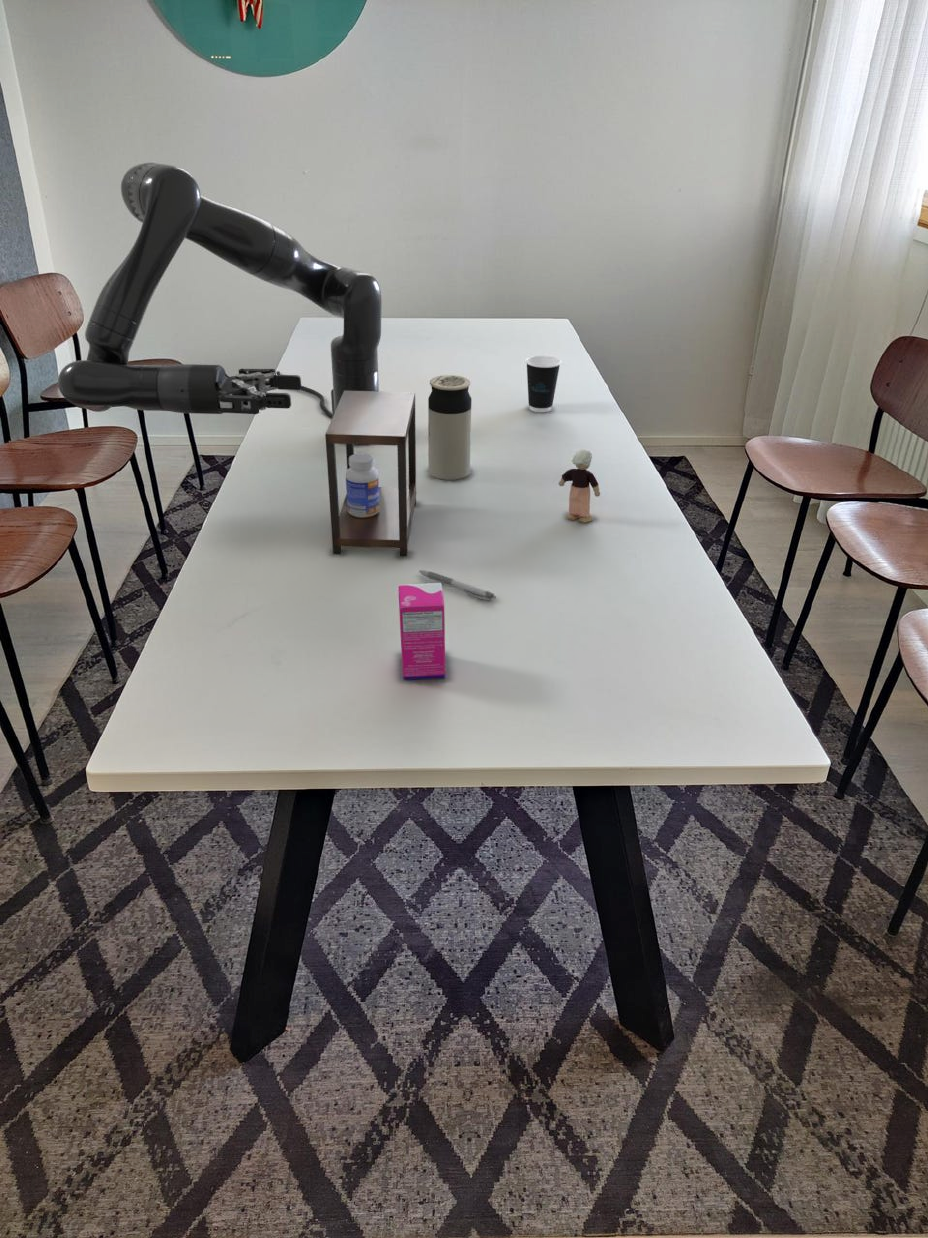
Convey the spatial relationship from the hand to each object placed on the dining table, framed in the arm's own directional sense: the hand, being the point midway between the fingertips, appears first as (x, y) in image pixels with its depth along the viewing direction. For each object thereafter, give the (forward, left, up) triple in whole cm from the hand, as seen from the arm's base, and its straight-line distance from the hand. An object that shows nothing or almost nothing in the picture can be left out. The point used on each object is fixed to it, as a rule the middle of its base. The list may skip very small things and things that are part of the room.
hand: (295, 391), depth 143 cm
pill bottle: (+7, +7, -21) cm, 23 cm away
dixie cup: (-13, +73, -24) cm, 78 cm away
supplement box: (+45, -13, -24) cm, 52 cm away
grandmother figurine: (+29, +37, -24) cm, 53 cm away
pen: (+32, +5, -24) cm, 40 cm away
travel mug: (0, +33, -24) cm, 41 cm away
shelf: (+9, +8, -24) cm, 26 cm away
